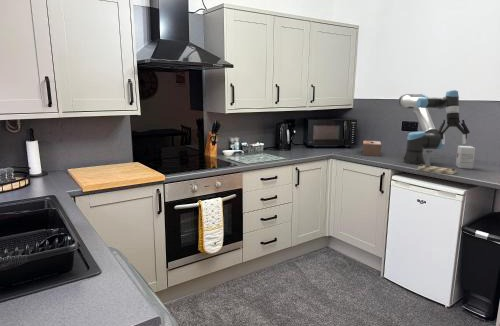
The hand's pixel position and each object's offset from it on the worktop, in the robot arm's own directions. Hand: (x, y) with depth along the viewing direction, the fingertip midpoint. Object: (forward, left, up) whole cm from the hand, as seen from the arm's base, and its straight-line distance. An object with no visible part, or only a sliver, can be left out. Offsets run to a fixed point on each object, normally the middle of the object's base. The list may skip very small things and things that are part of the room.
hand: (453, 144), depth 237 cm
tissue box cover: (-70, +27, -18) cm, 77 cm away
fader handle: (-11, -13, -16) cm, 23 cm away
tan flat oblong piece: (-5, -13, -18) cm, 23 cm away
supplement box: (+4, +17, -18) cm, 25 cm away
